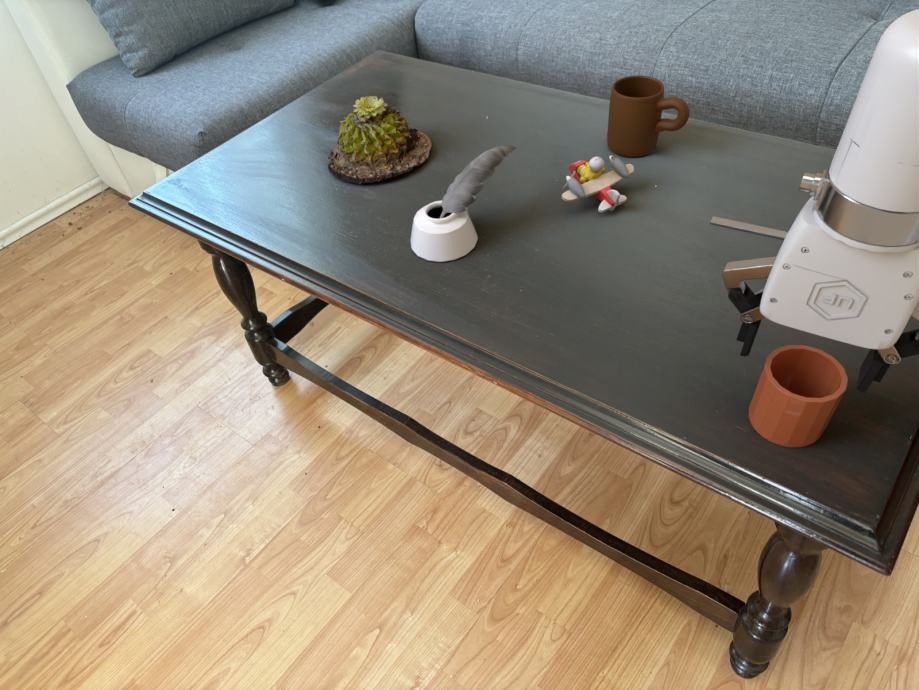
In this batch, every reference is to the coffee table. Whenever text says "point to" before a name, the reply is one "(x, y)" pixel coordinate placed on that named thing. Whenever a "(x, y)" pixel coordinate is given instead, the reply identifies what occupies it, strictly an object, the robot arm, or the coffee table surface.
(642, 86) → the mug
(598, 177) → the toy airplane
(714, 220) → the knife
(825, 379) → the pot
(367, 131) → the cactus
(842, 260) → the robot arm
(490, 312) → the coffee table surface
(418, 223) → the inkwell
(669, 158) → the coffee table surface
